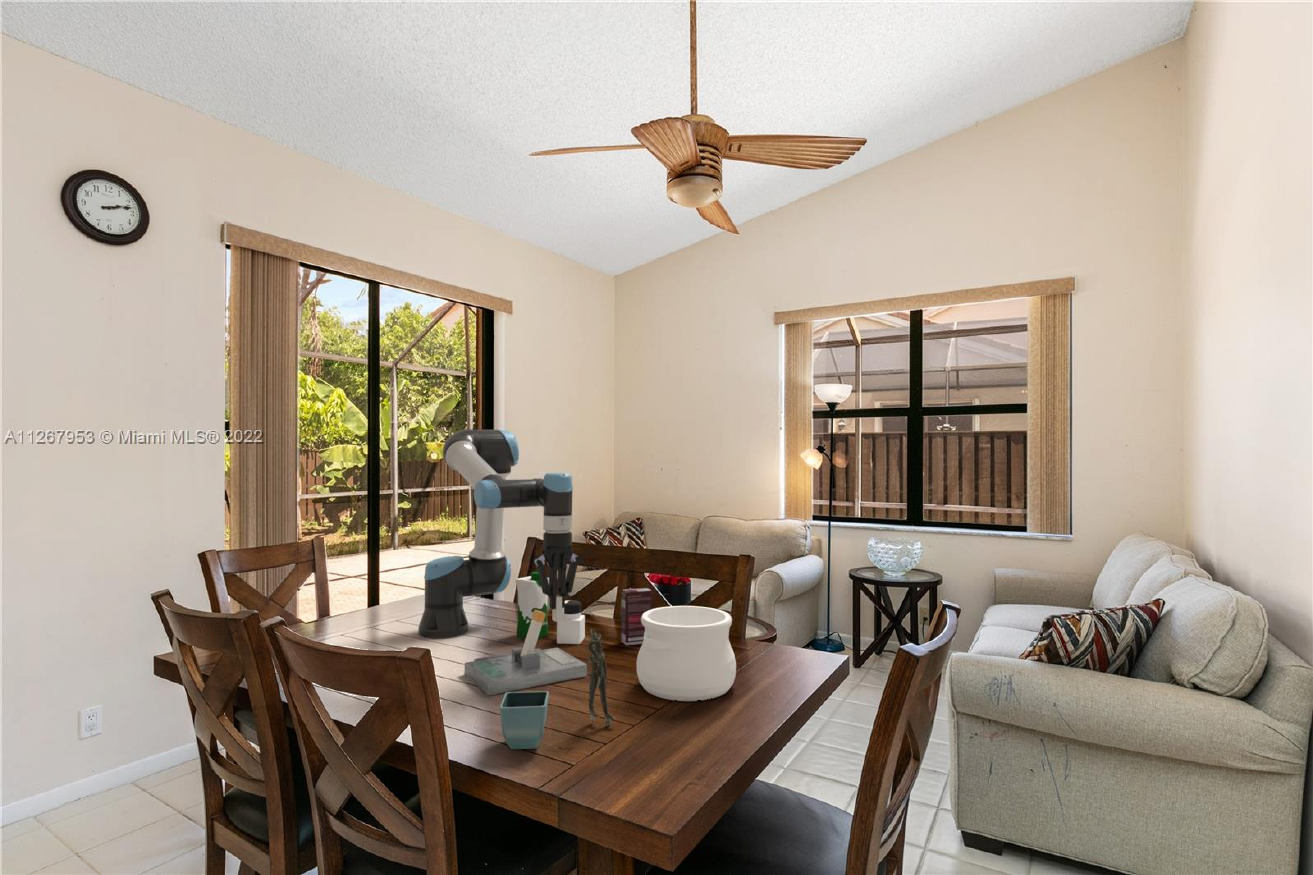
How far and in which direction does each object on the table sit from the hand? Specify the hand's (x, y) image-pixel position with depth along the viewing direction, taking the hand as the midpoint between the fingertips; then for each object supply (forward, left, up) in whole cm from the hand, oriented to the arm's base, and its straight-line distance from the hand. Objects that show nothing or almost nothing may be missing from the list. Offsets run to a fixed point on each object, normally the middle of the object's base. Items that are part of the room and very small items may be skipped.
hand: (557, 620), depth 183 cm
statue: (+39, -8, -13) cm, 42 cm away
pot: (+29, +21, -13) cm, 38 cm away
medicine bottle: (-23, +15, -13) cm, 31 cm away
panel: (0, -9, -13) cm, 16 cm away
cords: (-11, -9, -13) cm, 19 cm away
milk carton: (-34, +7, -13) cm, 37 cm away
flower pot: (+39, -25, -13) cm, 48 cm away
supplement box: (-11, +31, -13) cm, 36 cm away
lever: (0, -9, -8) cm, 12 cm away
